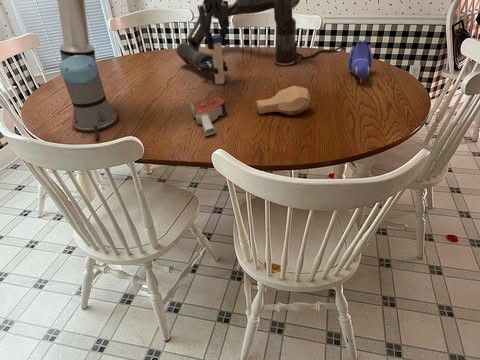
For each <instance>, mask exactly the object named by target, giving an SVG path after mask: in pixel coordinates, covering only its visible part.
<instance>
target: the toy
mask: <svg viewBox="0 0 480 360" xmlns="http://www.w3.org/2000/svg"><path fill="white" fill-rule="evenodd" d="M367 43H369V40H367V39H364V40H360V39H359V40H357V41H356V45H352V46H351V48H350V51H349V54H348V57H347V68H348V70H350V72H351V73H352V74H353V75H354V76H356V78H358V79H359V83H360V84H362V82H363V79H365V78H366V77H367V76H368V75H369V74H370V73H371V68H372V65H373V53H372V48H371V46H370V44H367Z"/></svg>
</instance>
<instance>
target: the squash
mask: <svg viewBox="0 0 480 360" xmlns="http://www.w3.org/2000/svg"><path fill="white" fill-rule="evenodd" d="M311 98H312V97H311V95H310V90H309V89H307V88H306V87H302V86H298V85H292V86H289V87H287V88H283V89H280V90H279V91H277V92H276V94H275V95H274V96H272V97H271V98H265V99H257V100H256V102H255V103H256V107H257V109H256V110H257V113H258V114H259V115H263V114H266V113H273V112H275V113H282V114H284V115H287V116H295V115H300V114H301V113H303V112H305V111H306V110H308V109H309V107H310V102H311Z"/></svg>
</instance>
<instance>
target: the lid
mask: <svg viewBox="0 0 480 360" xmlns="http://www.w3.org/2000/svg"><path fill="white" fill-rule="evenodd" d="M212 41H213V43H220V42H222V41H223V40H222V36H221V35H219V34H212Z"/></svg>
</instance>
